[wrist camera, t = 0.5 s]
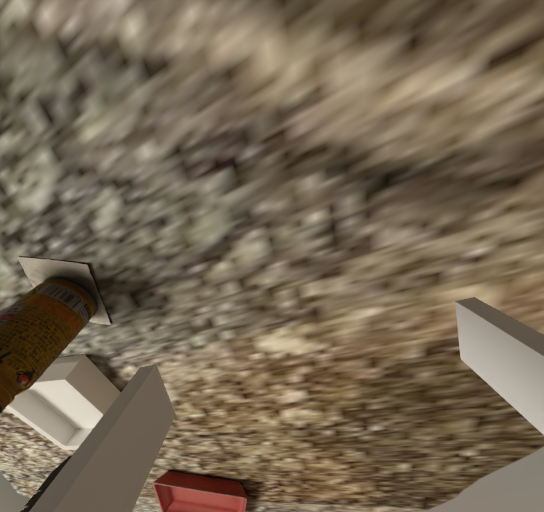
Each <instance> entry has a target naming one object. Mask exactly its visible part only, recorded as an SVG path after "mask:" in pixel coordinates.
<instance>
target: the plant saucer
mask: <svg viewBox="0 0 544 512" xmlns="http://www.w3.org/2000/svg"><path fill="white" fill-rule="evenodd" d="M153 487H154V490H155V493H156V496H157V499H158V502H159V504H160V507H161V510H162V512H245V509H246V503H247V497H246V494H245V492H244V489H243V487H242V485H241V484H240V482H238V481H233V480H226V479H219V478H213V477H206V476H200V475H193V474H187V473H180V472H174V471H168V472H167V473H165V474H164V475H162V476H161V477H160V478H158V479H157V480H156V481H155V482H154V483H153Z"/></svg>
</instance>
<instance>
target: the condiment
mask: <svg viewBox="0 0 544 512" xmlns="http://www.w3.org/2000/svg"><path fill="white" fill-rule="evenodd" d="M17 258H18V260H19V262H20V264H21V266H22V267H23V269H24V271H25V274H26V275H27V276H28V278H29V281H30V282H31V283H32V286H33V287H34V288H33V290H31V291H30V292H29V293H28V294H26V295H24V296H23V297H22V298H21V299H19V300H18V301H17V302H16V303H14V304H13V305H12V306H11V307H10V308H8V309H7V310H6V311H4V312H3V313H2V314H1V315H0V413H1V412H2V411H3V410H4V409H5V408H6V407H7V406H8V405H9V404H11V402H12V401H13V400H14V398H15V396H16V395H18V394H20V393H23V392H25V391H26V390H28V389H29V388H30V387H31V386H32V385H33V384H34V383H35V382H36V381H37V380H38V379H39V378H40V377H41V376H42V375H43V373H44V372H45V370H46V369H47V368H48V367H49V366H50V365H51V364H52V363H53V362H54V361H55V360H56V359H57V358H58V356H59V355H60V354H61V352H62V351H63V350H64V349H65V348H66V347H67V346H68V344H69V343H70V342H71V341H72V340H73V339H74V338H75V337H76V336H77V335H78V333H79V332H80V331H81V330H82V329H83V328H84V327H85V326H86V324H87V323H88V322H94V323H98V324H107V325H111V324H110V321H109V318H108V315H107V312H106V310H105V306H104V304H103V301H102V299H101V297H100V295H99V293H98V291H97V287H96V285H95V282H94V279H93V277H92V275H91V274H90V271H89V268H88V265H85V264H79V263H73V262H65V261H57V260H49V259H35V258H24V257H17ZM47 273H48V275H46V274H47ZM45 276H47V278H46V277H45ZM86 286H87V287H86Z"/></svg>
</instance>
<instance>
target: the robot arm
mask: <svg viewBox="0 0 544 512" xmlns="http://www.w3.org/2000/svg"><path fill="white" fill-rule="evenodd" d="M455 304H456V315H457V325H458V336H459V346H460V357H461V360H463V361H464V362H465V363H466V364H467V365H468V366H469V367H470V368H471V369H472V370H474V371H475V372H476V373H477V374H478V375H479V376H480V377H481V378H482V379H483V380H484V381H486V382H487V383H488V384H489V385H490V386H491V387H492V388H493V389H494V390H495V391H496V392H498V393H499V394H500V395H501V396H502V397H503V398H504V399H505V400H506V401H507V402H508V403H510V404H511V405H512V406H513V407H514V408H515V409H516V410H517V411H518V412H519V413H520V414H522V415H523V416H524V417H525V418H526V419H527V420H528V421H529V422H530V423H531V424H533V425H534V426H535V427H536V428H537V429H538V430H539V431H540V432H541V433H542V434H543V435H544V335H543V334H541V333H539V332H537V331H536V330H534V329H532V328H530V327H528V326H526V325H525V324H523V323H521V322H519V321H517V320H515V319H513V318H512V317H510V316H508V315H506V314H504V313H502V312H500V311H499V310H497V309H495V308H493V307H491V306H489V305H488V304H486V303H484V302H482V301H480V300H478V299H476V298H475V297H473V298H469V299H464V300H459V301H455ZM175 415H176V414H175V412H174V409H173V406H172V404H171V401H170V399H169V396H168V394H167V391H166V388H165V386H164V383H163V381H162V378H161V376H160V373H159V370H158V368H157V365H156V364H155V365H150V366H146V367H141V368H139V370H138V371H137V372H136V374H135V375H134V376H133V378H132V379H131V380H130V381H129V383H128V384H127V385H126V387H125V388H124V389H123V390H122V392H121V393H120V394H119V396H118V397H117V398H116V400H115V401H114V402H113V403H112V405H111V406H110V407H109V409H108V410H107V411H106V413H105V414H104V415H103V416H102V418H101V419H100V420H99V422H98V423H97V424H96V426H95V427H94V428H93V429H92V431H91V432H90V433H89V435H88V436H87V437H86V439H85V440H84V441H83V442H82V444H81V445H80V446H79V448H78V449H77V450H76V451H75V453H74V454H73V455H72V456H69V457H68V458H67V459H66V460H65V461H64V462H63V463H61V464H60V465H59V466H58V467H57V468H56V469H55V470H54V471H53V472H52V473H51V474H50V475H49V477H48V478H47V479H46V480H45V482H44V483H43V484H42V485H41V487H40V488H39V489H38V490H37V494H35V495H33V497H32V498H31V499H30V500H29V502H28V503H27V504H26V505H25V508H24V510H23V511H21V512H132V510H133V508H134V506H135V503H136V501H137V499H138V497H139V495H140V492H141V490H142V488H143V486H144V484H145V481H146V479H147V477H148V475H149V472H150V470H151V468H152V466H153V464H154V461H155V459H156V457H157V455H158V452H159V450H160V448H161V446H162V444H163V441H164V439H165V437H166V435H167V433H168V430H169V428H170V426H171V424H172V421H173V419H174V417H175Z"/></svg>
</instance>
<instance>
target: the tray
mask: <svg viewBox="0 0 544 512" xmlns="http://www.w3.org/2000/svg"><path fill="white" fill-rule="evenodd" d="M120 393H121V392H120V391H119V390H118V389H117V388H116V387H115V386H114V385H113V384H112V383H111V382H110V381H109V380H108V378H107V377H106V376H105V375H104V374H103V373H102V372H101V371H100V370H99V369H98V368H97V367H96V366H95V365H94V364H93V363H92V362H91V361H90V360H89V359H88V357H87V356H86V355H85V354H83V355H75V356H68V357H60V358H57V359H56V360H55V361H54V362H53V363H52V364H51V365H50V366H49V367H48V368H47V369H46V370H45V372H44V373H43V375H42V376H41V377H40V378H39V379H38V380H37V381H36V382H35V383H34V384H33V385H32V386H31V387H30V388H29V389H28V390H26V391H25V392H23V393H20V394H18V395H16V396H15V398H14V400H13V401H12V402H11V404H9V405H8V406H7V407H6V409H7V410H9V411H10V412H11V413H13V414H14V415H16V416H17V417H18V418H20V419H21V420H23V421H24V422H25V423H27V424H28V425H30V426H31V427H32V428H34V429H35V430H37V431H38V432H39V433H41V434H42V435H44V436H45V437H46V438H48V439H49V440H51V441H52V442H53V443H55V444H56V445H58V446H59V447H60V448H62V449H63V450H75V449H78V448H79V446H80V445H81V444H82V442H83V441H84V440H85V439H86V437H87V436H88V435H89V433H90V432H91V431H92V429H93V428H94V427H95V426H96V424H97V423H98V422H99V420H100V419H101V418H102V416H103V415H104V414H105V413H106V411H107V410H108V409H109V407H110V406H111V405H112V403H113V402H114V401H115V400H116V398H117V397H118V396H119V394H120Z"/></svg>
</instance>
